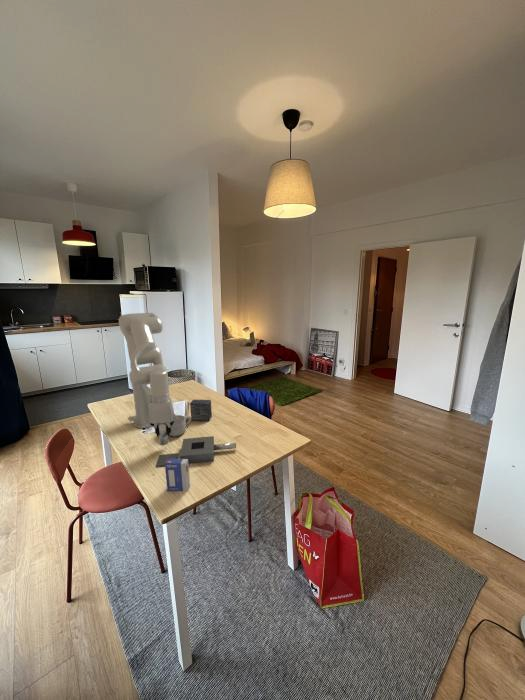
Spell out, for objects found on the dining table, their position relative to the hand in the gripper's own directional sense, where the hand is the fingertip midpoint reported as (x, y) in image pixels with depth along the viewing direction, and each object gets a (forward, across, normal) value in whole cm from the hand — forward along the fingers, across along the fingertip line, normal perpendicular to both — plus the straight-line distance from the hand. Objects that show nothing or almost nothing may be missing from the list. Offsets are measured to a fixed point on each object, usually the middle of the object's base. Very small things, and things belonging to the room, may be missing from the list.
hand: (163, 434), depth 131 cm
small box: (+9, +16, +29) cm, 34 cm away
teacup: (+9, +5, +15) cm, 18 cm away
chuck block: (+7, +21, -6) cm, 23 cm away
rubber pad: (+7, +3, -9) cm, 12 cm away
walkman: (+7, +10, -28) cm, 31 cm away
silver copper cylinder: (+4, 0, 0) cm, 4 cm away
